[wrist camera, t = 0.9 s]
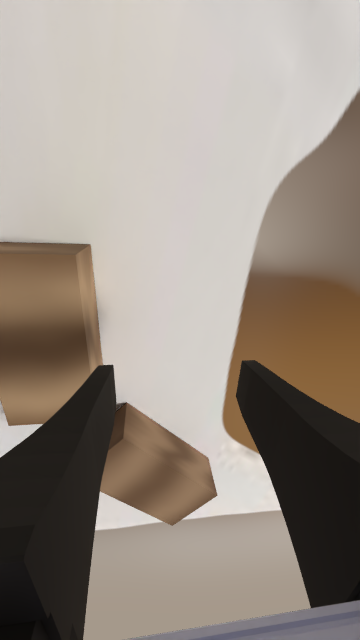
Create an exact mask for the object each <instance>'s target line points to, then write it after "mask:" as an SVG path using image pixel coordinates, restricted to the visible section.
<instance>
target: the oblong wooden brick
mask: <svg viewBox="0 0 360 640" xmlns="http://www.w3.org/2000/svg"><path fill="white" fill-rule="evenodd" d="M100 491H101V492H103V493H105V494H107V495H109V496H111V497H113V498H115V499H117V500H119V501H122V502H124V503H126V504H128V505H130V506H132V507H134V508H136V509H138V510H140V511H143V512H145V513H147V514H149V515H151V516H153V517H155V518H157V519H159V520H161V521H163V522H166V523H168V524H170V525H174V524H176V523H177V522H178V521H180V520H182V519H183V518H184V517H186V516H187V515H189V514H190V513H192V512H193V511H195V510H196V509H198V508H199V507H201V506H202V505H204V504H205V503H207V502H208V501H210V500H211V499H213V498H214V497H216V496H217V492H216V488H215V484H214V480H213V476H212V472H211V467H210V463H209V459H208V457H206V456H205V455H203V454H202V453H200V452H199V451H197V450H196V449H194V448H193V447H191V446H190V445H189V444H187V443H186V442H184V441H183V440H181V439H180V438H178V437H177V436H175V435H174V434H172V433H171V432H169V431H168V430H166V429H165V428H164V427H162V426H161V425H159V424H158V423H156V422H155V421H153V420H152V419H150V418H149V417H147V416H146V415H144V414H143V413H141V412H140V411H139V410H137V409H136V408H134V407H133V406H131V405H130V404H128V403H126V404H125V405H123V406H122V407H121V408H120V409H119V410H118V411H116V412H115V419H114V426H113V431H112V435H111V440H110V444H109V449H108V453H107V458H106V462H105V467H104V471H103V476H102V481H101V487H100Z"/></svg>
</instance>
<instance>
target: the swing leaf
mask: <svg viewBox="0 0 360 640" xmlns="http://www.w3.org/2000/svg"><path fill="white" fill-rule="evenodd" d="M99 365H103V363H102V353H101V343H100V333H99V323H98V313H97V304H96V294H95V284H94V274H93V264H92V254H91V245H90V244H51V243H12V242H0V400H1V403H2V406H3V409H4V412H5V415H6V419H7V422H8V425H9V426H13V425H30V424H44V423H45V422H46V421H48V420H49V419H50V418H51V417H52V416H53V415H54V414H55V413H56V412H57V411H58V410H59V409H60V408H61V407H62V406H63V405H64V404H65V403H66V402H67V401H68V400H69V399H70V398H71V397H72V396H73V395H74V393H75V392H76V391H77V390H78V389H79V388H80V387H81V386H82V384H83V383H84V382H85V381H86V380H87V378H88V377H89V376H90V375H91V374H92V372H93V371H94V370H95V369H96V367H98V366H99Z"/></svg>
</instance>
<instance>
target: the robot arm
mask: <svg viewBox="0 0 360 640" xmlns="http://www.w3.org/2000/svg"><path fill="white" fill-rule="evenodd" d="M236 398H237V401H238V404H239V407H240V410H241V413H242V416H243V418H244V421H245V423H246V425H247V427H248V429H249V432H250V434H251V436H252V438H253V440H254V442H255V444H256V446H257V449H258V451H259V453H260V455H261V457H262V459H263V461H264V464H265V466H266V468H267V471H268V473H269V476H270V478H271V481H272V484H273V487H274V489H275V492H276V495H277V498H278V501H279V504H280V507H281V510H282V513H283V516H284V518H285V521H286V525H287V527H288V531H289V534H290V537H291V540H292V544H293V547H294V550H295V553H296V556H297V560H298V563H299V567H300V570H301V574H302V577H303V581H304V584H305V588H306V591H307V595H308V598H309V602H310V606H311V608H310V609H304V610H298V611H292V612H286V613H280V614H274V615H269V616H262V617H256V618H250V619H244V620H238V621H232V622H226V623H220V624H214V625H208V626H202V627H197V628H190V629H184V630H179V631H172V632H167V633H160V634H155V635H148V636H142V637H136V638H130V639H125V640H360V423H358V422H355V421H353V420H351V419H349V418H347V417H345V416H343V415H341V414H339V413H337V412H336V411H334V410H332V409H330V408H328V407H326V406H324V405H322V404H320V403H319V402H317V401H316V400H314V399H312V398H310V397H309V396H307V395H306V394H304V393H303V392H301V391H299V390H298V389H296V388H295V387H293V386H292V385H290V384H289V383H287V382H286V381H284V380H283V379H281V378H280V377H278V376H277V375H276V374H274V373H273V372H272V371H270V370H269V369H267V368H266V367H264V366H263V365H261V364H260V363H258V362H257V361H255V360H250V361H242V364H241V370H240V375H239V381H238V387H237V393H236ZM115 410H116V393H115V380H114V368H113V365H99V366H98V367H96V369H95V370H94V371H93V372H92V374H91V375H90V376H89V377H88V378H87V380H86V381H85V382H84V383H83V384H82V386H81V387H80V388H79V389H78V390H77V391H76V392H75V393H74V395H73V396H72V397H71V398H70V399H69V400H68V401H67V402H66V403H65V404H64V405H63V406H62V407H61V408H60V409H59V410H58V411H57V412H56V413H55V414H54V415H53V416H52V417H51V418H50V419H49V420H48V421H46V422H45V423H44V424H43V425H42V426H41V427H40V428H38V429H37V430H36V431H35V432H34V433H33V434H31V435H30V436H29V437H28V438H26V439H25V440H24V441H22V442H21V443H20V444H18V445H17V446H16V447H14V448H13V449H12V450H10V451H9V452H7V453H6V454H5V455H3V456H2V457H1V458H0V640H83V634H84V623H85V614H86V604H87V594H88V585H89V575H90V567H91V558H92V549H93V540H94V532H95V524H96V516H97V509H98V501H99V493H100V487H101V481H102V476H103V471H104V467H105V462H106V458H107V453H108V449H109V444H110V440H111V435H112V431H113V426H114V419H115Z"/></svg>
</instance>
